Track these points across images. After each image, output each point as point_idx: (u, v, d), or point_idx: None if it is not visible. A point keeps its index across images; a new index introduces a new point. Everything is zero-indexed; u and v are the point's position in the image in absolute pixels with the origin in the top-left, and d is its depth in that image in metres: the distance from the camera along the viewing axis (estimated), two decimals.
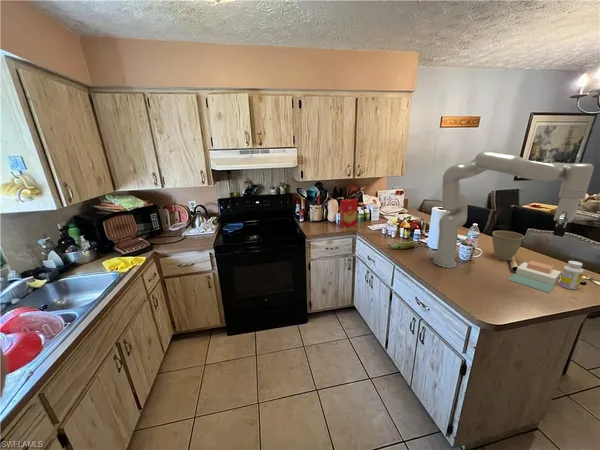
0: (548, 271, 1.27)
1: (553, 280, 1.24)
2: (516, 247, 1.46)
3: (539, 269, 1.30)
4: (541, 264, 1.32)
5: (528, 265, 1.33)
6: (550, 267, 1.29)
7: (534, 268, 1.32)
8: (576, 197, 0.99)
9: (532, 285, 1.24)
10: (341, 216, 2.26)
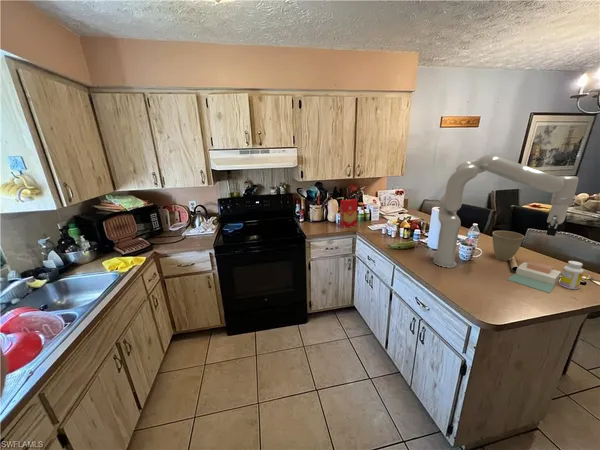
0: (548, 271, 1.27)
1: (553, 280, 1.24)
2: (516, 247, 1.46)
3: (539, 269, 1.30)
4: (541, 264, 1.32)
5: (528, 265, 1.33)
6: (550, 267, 1.29)
7: (534, 268, 1.32)
8: (565, 203, 1.21)
9: (532, 285, 1.24)
10: (341, 216, 2.26)
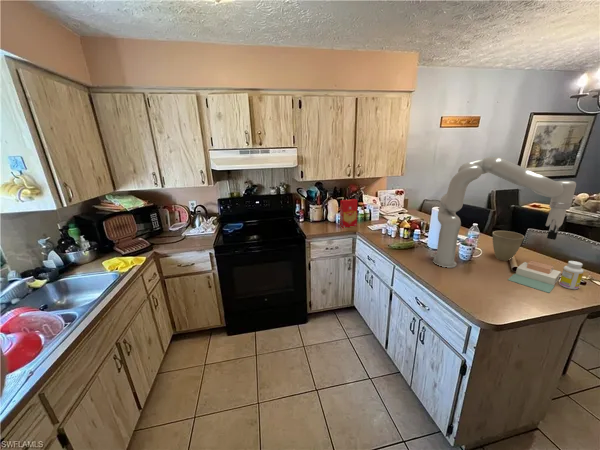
0: (548, 271, 1.27)
1: (553, 280, 1.24)
2: (516, 247, 1.46)
3: (539, 269, 1.30)
4: (541, 264, 1.32)
5: (528, 265, 1.33)
6: (550, 267, 1.29)
7: (534, 268, 1.32)
8: (563, 208, 1.24)
9: (532, 285, 1.24)
10: (341, 216, 2.26)
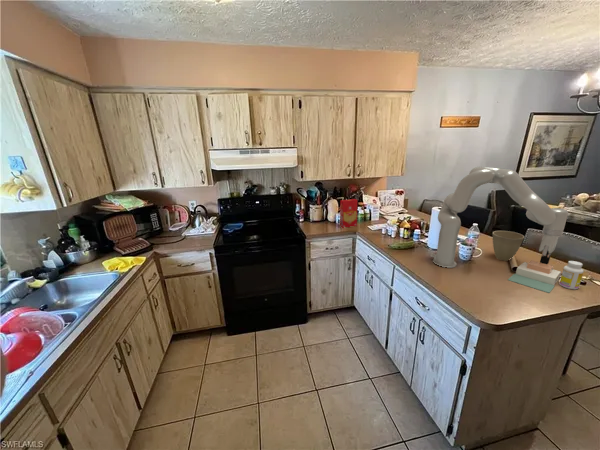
0: (548, 271, 1.27)
1: (553, 280, 1.24)
2: (516, 247, 1.46)
3: (539, 269, 1.30)
4: (541, 264, 1.32)
5: (528, 265, 1.33)
6: (550, 267, 1.29)
7: (534, 268, 1.32)
8: (555, 235, 1.28)
9: (532, 285, 1.24)
10: (341, 216, 2.26)
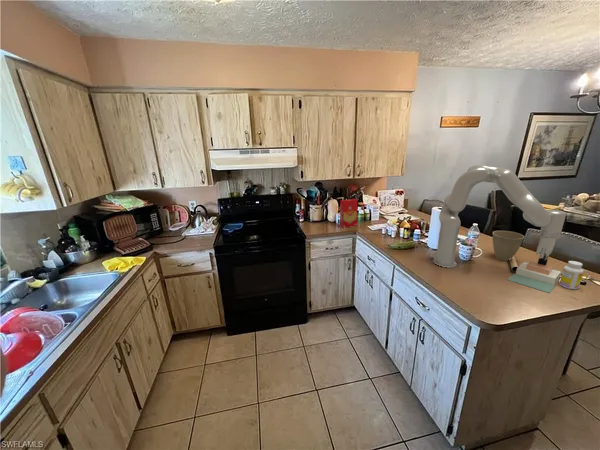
0: (547, 272, 1.26)
1: (553, 280, 1.24)
2: (516, 247, 1.46)
3: (538, 270, 1.29)
4: (540, 265, 1.31)
5: (527, 266, 1.32)
6: (549, 268, 1.28)
7: (533, 269, 1.31)
8: (552, 237, 1.25)
9: (532, 285, 1.24)
10: (341, 216, 2.26)
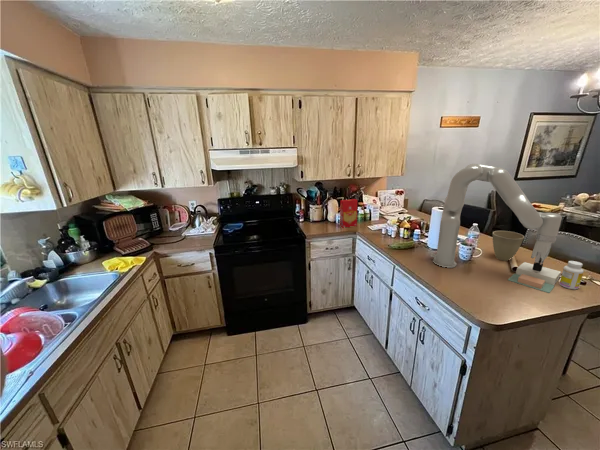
0: None
1: (553, 280, 1.24)
2: (516, 247, 1.46)
3: None
4: None
5: None
6: None
7: None
8: (548, 241, 1.21)
9: None
10: (341, 216, 2.26)
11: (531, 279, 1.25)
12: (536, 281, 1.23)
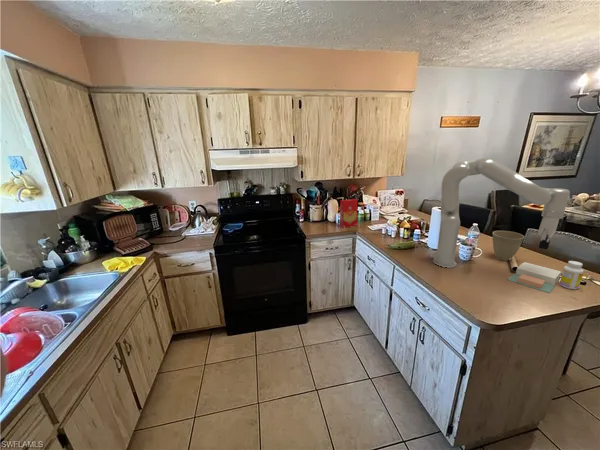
0: None
1: (553, 280, 1.24)
2: (516, 247, 1.46)
3: None
4: None
5: None
6: None
7: None
8: (555, 217, 1.19)
9: None
10: (341, 216, 2.26)
11: (531, 279, 1.25)
12: (536, 281, 1.23)
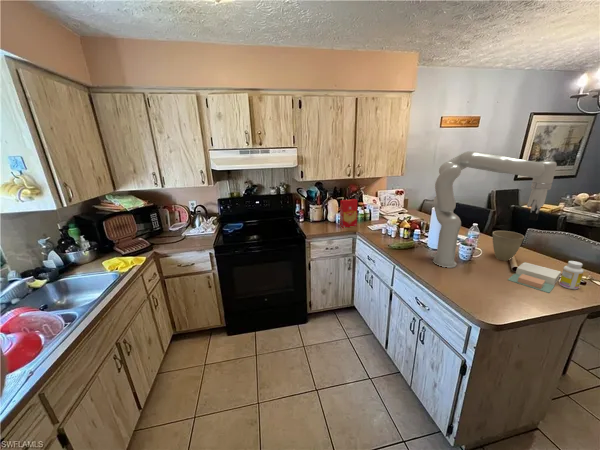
0: None
1: (553, 280, 1.24)
2: (516, 247, 1.46)
3: None
4: None
5: None
6: None
7: None
8: (543, 188, 1.25)
9: None
10: (341, 216, 2.26)
11: (531, 279, 1.25)
12: (536, 281, 1.23)
